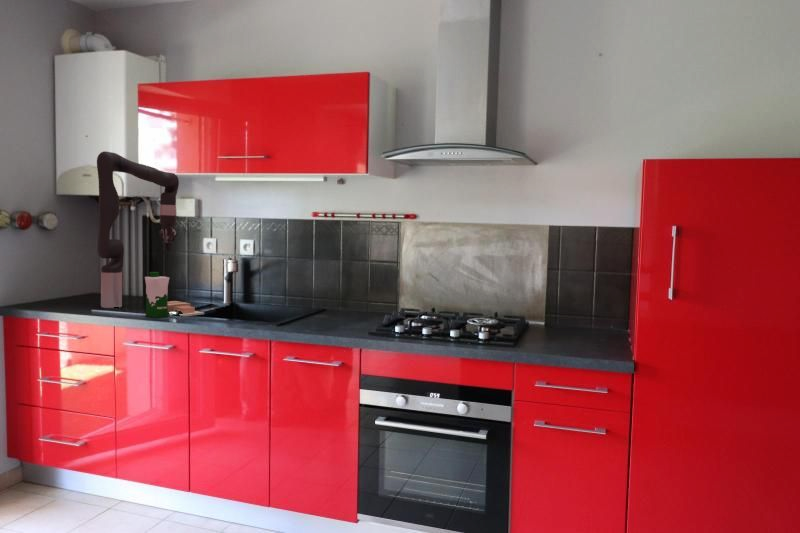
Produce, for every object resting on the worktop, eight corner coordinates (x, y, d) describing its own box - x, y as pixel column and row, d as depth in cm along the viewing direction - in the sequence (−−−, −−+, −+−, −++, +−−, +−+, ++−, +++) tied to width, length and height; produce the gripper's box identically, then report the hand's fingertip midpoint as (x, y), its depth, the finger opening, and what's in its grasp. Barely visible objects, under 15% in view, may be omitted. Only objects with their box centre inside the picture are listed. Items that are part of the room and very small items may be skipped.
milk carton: (159, 314, 307) (159, 271, 305) (171, 316, 302) (171, 272, 300) (142, 316, 299) (142, 272, 298) (155, 318, 294) (155, 273, 293)
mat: (168, 314, 309) (168, 312, 309) (190, 311, 318) (190, 310, 318) (181, 316, 302) (181, 314, 302) (204, 314, 312) (204, 312, 312)
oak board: (153, 311, 316) (153, 302, 316) (175, 308, 326) (175, 300, 325) (168, 313, 309) (168, 305, 308) (190, 311, 318) (190, 303, 318)
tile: (173, 311, 310) (173, 306, 310) (184, 310, 315) (184, 305, 315) (183, 313, 306) (183, 308, 306) (194, 312, 311) (194, 307, 310)
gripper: (153, 214, 317) (153, 250, 319) (169, 214, 309) (168, 251, 311) (167, 214, 323) (166, 249, 325) (183, 215, 315) (182, 251, 316)
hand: (167, 250), depth 318 cm, fingers closed
